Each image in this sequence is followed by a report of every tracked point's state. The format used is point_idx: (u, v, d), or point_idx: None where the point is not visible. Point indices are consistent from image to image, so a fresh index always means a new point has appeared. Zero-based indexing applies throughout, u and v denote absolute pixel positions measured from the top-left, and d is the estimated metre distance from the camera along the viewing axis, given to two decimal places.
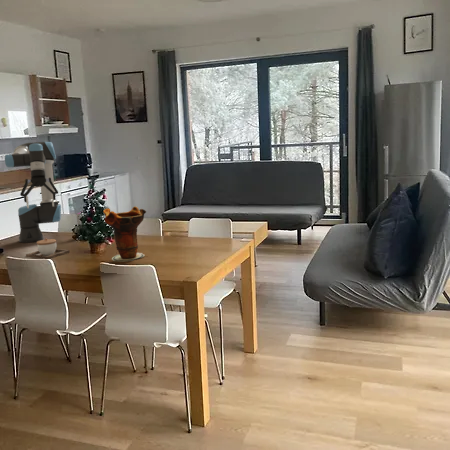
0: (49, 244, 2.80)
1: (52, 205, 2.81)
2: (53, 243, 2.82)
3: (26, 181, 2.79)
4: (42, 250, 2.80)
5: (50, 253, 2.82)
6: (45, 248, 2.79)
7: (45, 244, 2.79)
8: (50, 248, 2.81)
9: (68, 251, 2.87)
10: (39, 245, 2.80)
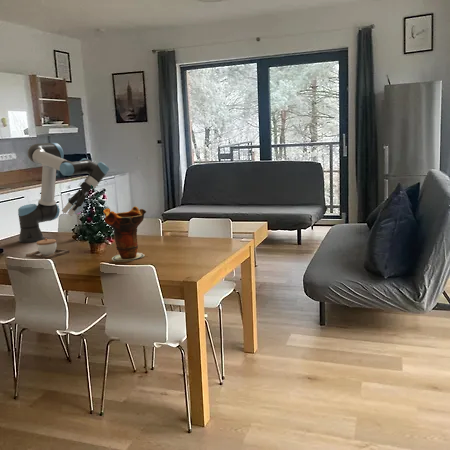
0: (49, 244, 2.80)
1: (65, 213, 2.94)
2: (53, 243, 2.82)
3: None
4: (42, 250, 2.80)
5: (50, 253, 2.82)
6: (45, 248, 2.79)
7: (45, 244, 2.79)
8: (50, 248, 2.81)
9: (68, 251, 2.87)
10: (39, 245, 2.80)
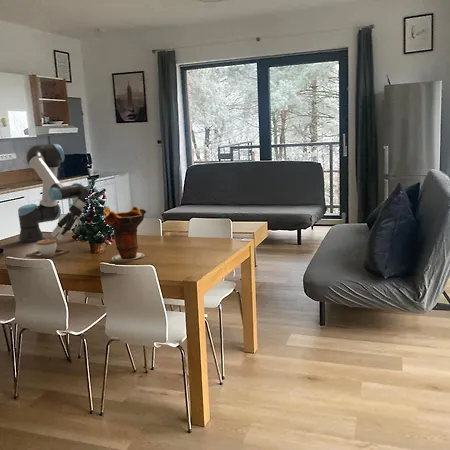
0: (49, 244, 2.80)
1: (54, 236, 2.91)
2: (53, 243, 2.82)
3: None
4: (42, 250, 2.80)
5: (50, 253, 2.82)
6: (45, 248, 2.79)
7: (45, 244, 2.79)
8: (50, 248, 2.81)
9: (68, 251, 2.87)
10: (39, 245, 2.80)
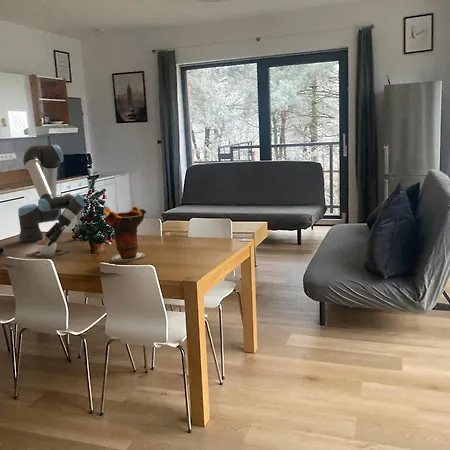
0: None
1: None
2: (53, 243, 2.82)
3: None
4: (42, 250, 2.80)
5: (50, 253, 2.82)
6: None
7: None
8: (50, 248, 2.81)
9: (68, 251, 2.87)
10: (39, 245, 2.80)
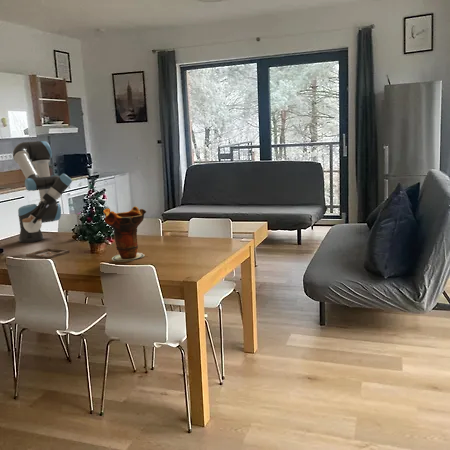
0: None
1: None
2: (38, 221, 2.90)
3: None
4: (27, 227, 2.88)
5: (35, 230, 2.91)
6: None
7: (30, 221, 2.87)
8: (35, 225, 2.89)
9: (68, 251, 2.87)
10: (24, 222, 2.88)
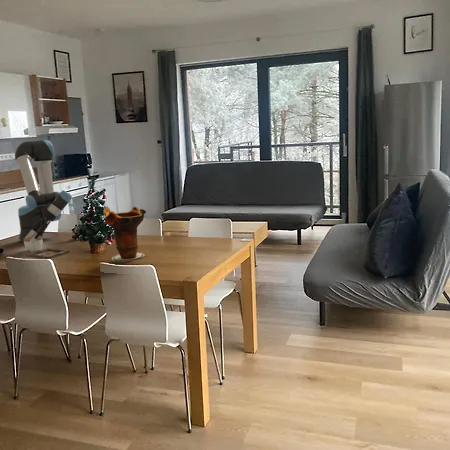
0: (35, 241, 2.92)
1: None
2: (39, 240, 2.94)
3: None
4: (28, 246, 2.92)
5: (36, 249, 2.95)
6: (31, 244, 2.92)
7: None
8: (36, 244, 2.93)
9: (68, 251, 2.87)
10: (25, 242, 2.92)
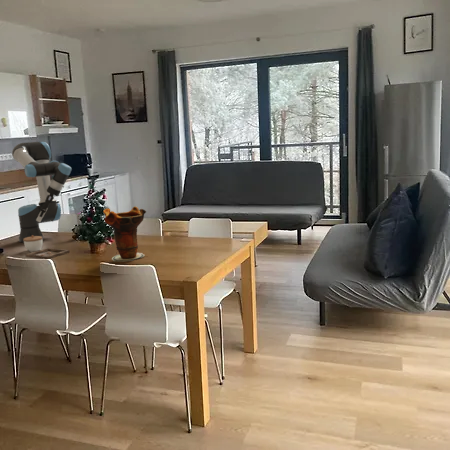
0: (35, 241, 2.92)
1: (43, 217, 3.06)
2: (39, 240, 2.94)
3: (51, 199, 2.92)
4: (28, 246, 2.92)
5: (36, 249, 2.95)
6: (31, 244, 2.92)
7: (31, 241, 2.91)
8: (36, 244, 2.93)
9: (68, 251, 2.87)
10: (25, 242, 2.92)
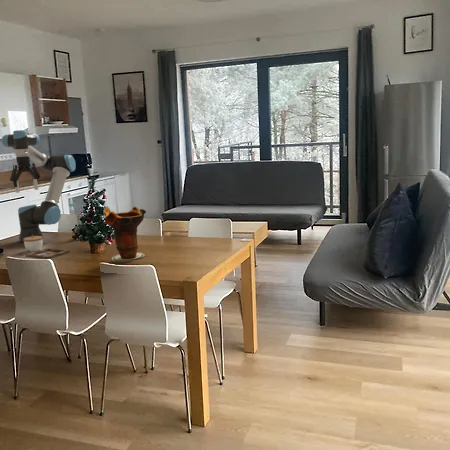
0: (35, 241, 2.92)
1: (37, 189, 3.07)
2: (39, 240, 2.94)
3: (16, 167, 2.94)
4: (28, 246, 2.92)
5: (36, 249, 2.95)
6: (31, 244, 2.92)
7: (31, 241, 2.91)
8: (36, 244, 2.93)
9: (68, 251, 2.87)
10: (26, 242, 2.92)
